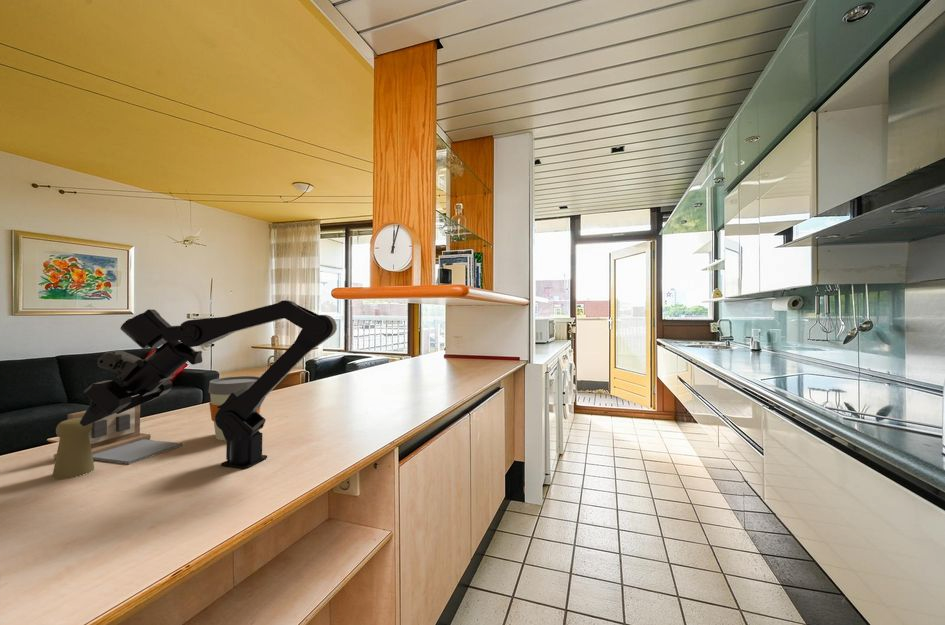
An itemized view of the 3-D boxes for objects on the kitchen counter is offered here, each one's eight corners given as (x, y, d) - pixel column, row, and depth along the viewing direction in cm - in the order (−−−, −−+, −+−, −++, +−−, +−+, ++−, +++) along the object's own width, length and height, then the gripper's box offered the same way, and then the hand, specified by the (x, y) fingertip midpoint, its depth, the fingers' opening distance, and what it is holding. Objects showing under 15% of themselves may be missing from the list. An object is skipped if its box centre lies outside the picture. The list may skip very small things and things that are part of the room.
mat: (182, 445, 94) (182, 443, 94) (129, 464, 82) (129, 461, 82) (143, 441, 96) (143, 439, 96) (87, 459, 85) (87, 456, 85)
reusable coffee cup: (272, 431, 106) (273, 378, 106) (227, 446, 94) (228, 385, 94) (242, 425, 111) (243, 374, 111) (196, 438, 99) (197, 381, 99)
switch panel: (150, 438, 98) (151, 400, 98) (74, 462, 83) (75, 416, 83) (132, 437, 100) (133, 399, 100) (53, 459, 84) (54, 414, 84)
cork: (72, 479, 74) (73, 423, 74) (42, 478, 75) (43, 423, 75) (103, 467, 80) (103, 415, 81) (75, 466, 81) (76, 414, 81)
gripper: (158, 335, 89) (102, 383, 86) (97, 340, 71) (24, 401, 68) (195, 368, 90) (141, 416, 88) (145, 382, 72) (75, 443, 70)
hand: (99, 418), depth 78 cm, fingers open, 9 cm apart
